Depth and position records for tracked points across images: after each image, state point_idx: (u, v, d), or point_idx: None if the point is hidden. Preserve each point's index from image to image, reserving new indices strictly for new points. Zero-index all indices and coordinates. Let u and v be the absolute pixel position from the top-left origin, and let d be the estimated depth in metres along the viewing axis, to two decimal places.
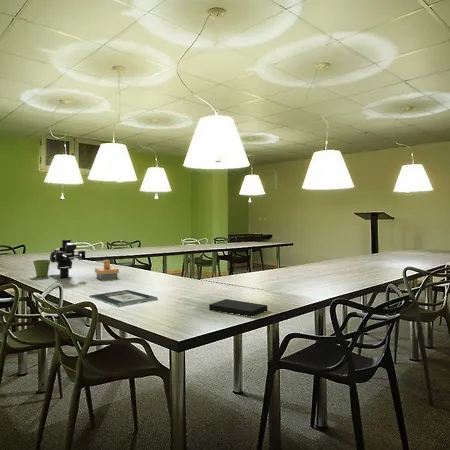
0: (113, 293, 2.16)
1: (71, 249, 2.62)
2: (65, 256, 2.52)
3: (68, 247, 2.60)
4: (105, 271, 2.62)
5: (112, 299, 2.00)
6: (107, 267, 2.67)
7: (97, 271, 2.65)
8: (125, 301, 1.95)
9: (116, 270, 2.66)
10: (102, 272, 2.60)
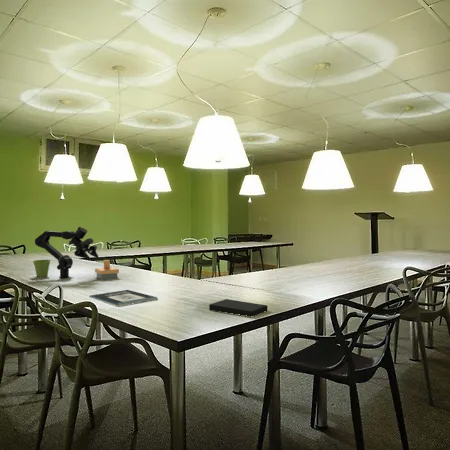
0: (113, 293, 2.16)
1: (88, 244, 2.69)
2: (88, 256, 2.62)
3: (88, 243, 2.67)
4: (105, 271, 2.62)
5: (112, 299, 2.00)
6: (107, 267, 2.67)
7: (97, 271, 2.65)
8: (125, 301, 1.95)
9: (116, 270, 2.66)
10: (102, 272, 2.60)
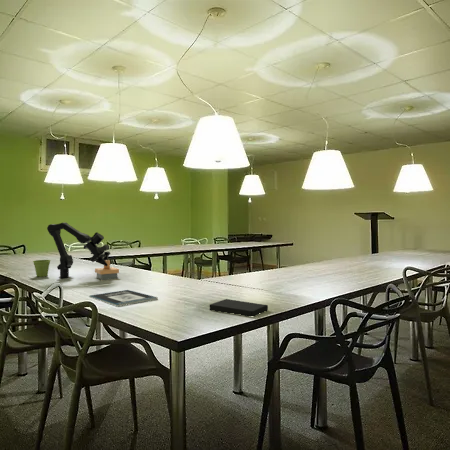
0: (113, 293, 2.16)
1: (104, 250, 2.69)
2: (106, 263, 2.66)
3: (104, 250, 2.67)
4: (105, 271, 2.62)
5: (112, 299, 2.00)
6: (107, 267, 2.67)
7: (97, 271, 2.65)
8: (125, 301, 1.95)
9: (116, 270, 2.66)
10: (102, 272, 2.60)
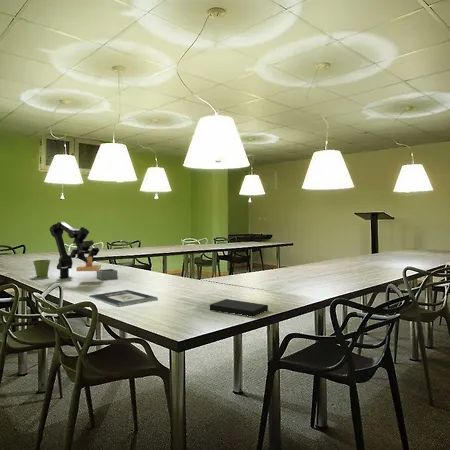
0: (113, 293, 2.16)
1: (87, 246, 2.57)
2: (86, 260, 2.52)
3: (86, 246, 2.54)
4: (81, 268, 2.48)
5: (112, 299, 2.00)
6: (87, 264, 2.53)
7: None
8: (125, 301, 1.95)
9: (94, 268, 2.49)
10: (78, 269, 2.48)
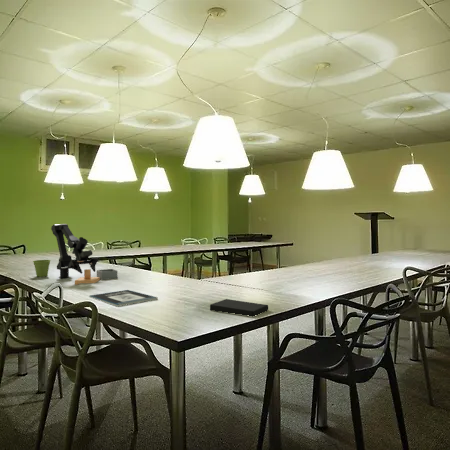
0: (113, 293, 2.16)
1: (86, 256, 2.56)
2: (81, 270, 2.50)
3: (84, 256, 2.54)
4: (80, 281, 2.48)
5: (112, 299, 2.00)
6: (86, 277, 2.52)
7: None
8: (125, 301, 1.95)
9: (92, 281, 2.48)
10: (76, 282, 2.48)
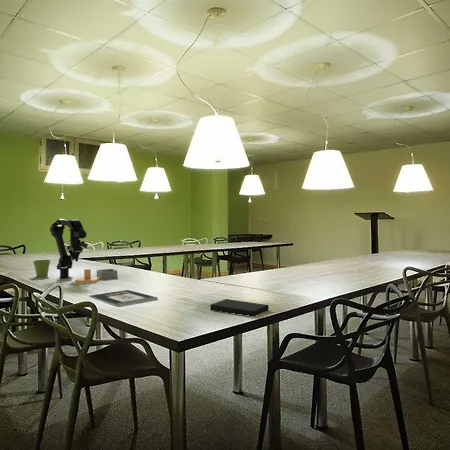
0: (113, 293, 2.16)
1: None
2: None
3: None
4: (80, 281, 2.48)
5: (112, 299, 2.00)
6: (86, 277, 2.52)
7: None
8: (125, 301, 1.95)
9: (92, 281, 2.48)
10: (76, 282, 2.48)
